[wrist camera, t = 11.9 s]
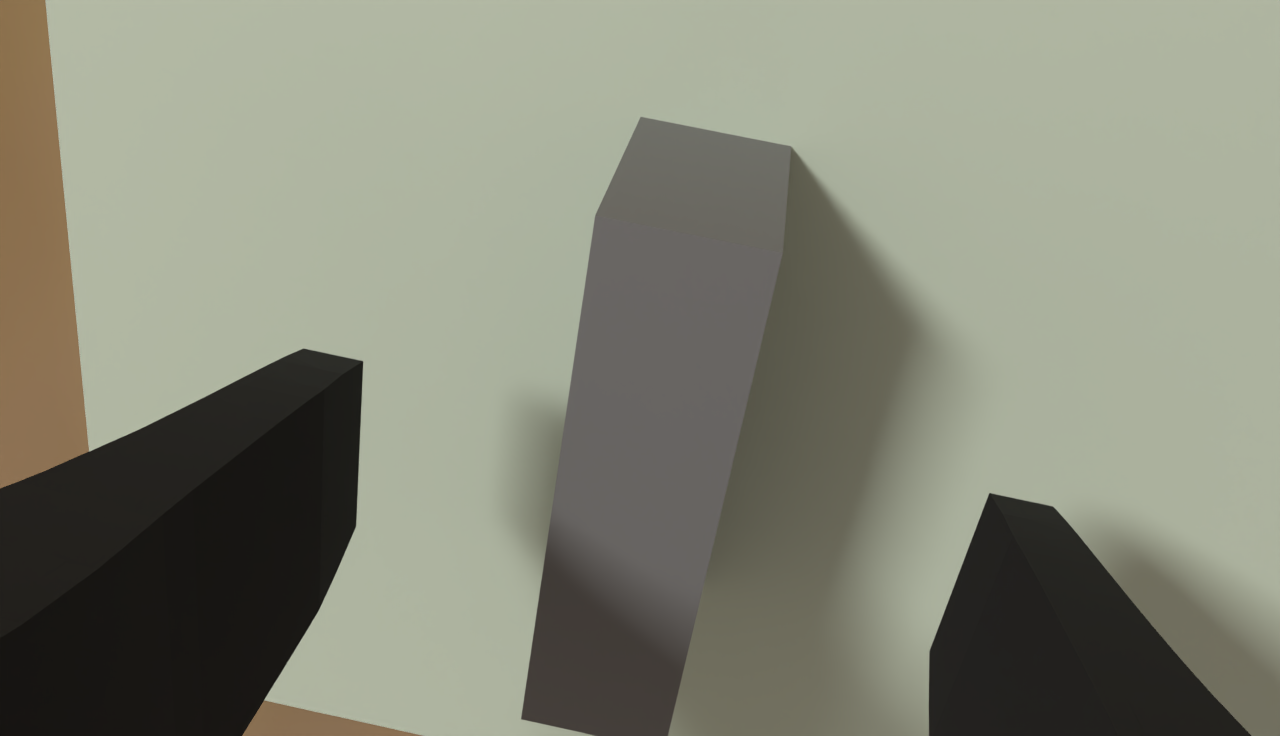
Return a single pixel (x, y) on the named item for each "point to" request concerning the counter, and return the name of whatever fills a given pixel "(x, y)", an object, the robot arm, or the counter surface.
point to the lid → (705, 327)
